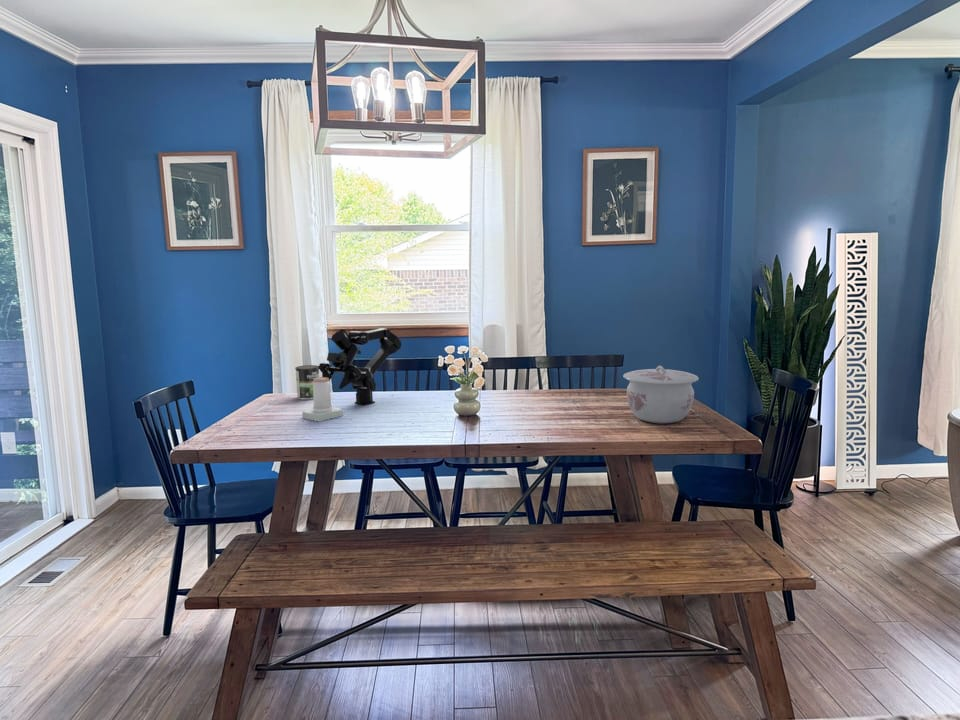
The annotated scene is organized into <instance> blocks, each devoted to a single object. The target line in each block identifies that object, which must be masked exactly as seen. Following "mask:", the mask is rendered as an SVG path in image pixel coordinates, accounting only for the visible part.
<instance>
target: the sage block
mask: <svg viewBox="0 0 960 720" xmlns="http://www.w3.org/2000/svg"><path fill="white" fill-rule="evenodd" d="M301 413H302V414H301V415H302V419H305V418H306V419H305V420H309V419H310V421H313V420H314V421H313V422H316V421H319V422H322V421H321V420H323V421H327V420H331V419H330V418H332V419H335V417H336V418H339V416H340V417H343V416H344V409H341V408H338V407H337V408H336V407H333V406H332V411H330V412H326V413H315V412H313V409H309V410H304V411H302V412H301ZM326 419H327V420H326Z"/></svg>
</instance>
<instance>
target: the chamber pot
mask: <svg viewBox="0 0 960 720" xmlns="http://www.w3.org/2000/svg"><path fill="white" fill-rule="evenodd" d="M622 376H623V378H624V379H625V380H627V381H629V383H628V385H627V387H626V397H627V403H628V406H629V408H630V410H631V412H632V413H633V415H634V416H635V417H636V418H637V419H639V420H642V421H643V422H646V423H651V424H660V425H664V424H665V425H666V424H667V425H668V424H673V423H677V422H680V421H682V420H683V419H684V418H685V417H686V416H687V415H688V414H689V412H690V410H691V409H692V407H693V403H694V399H695V389H694V388H693V386H692V384H693V383H696V382H697V381H699V377H698V375H696V374H693V373H690V372H687V371H683V370H675V369H668V368H667V369H665V368H664V367H663V366H662V365H658V366H657V367H656V368H647V369H646V368H645V369H637V370H632V371H628V372H625V373H624V374H623V375H622Z"/></svg>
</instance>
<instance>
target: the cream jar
mask: <svg viewBox="0 0 960 720" xmlns="http://www.w3.org/2000/svg"><path fill="white" fill-rule="evenodd" d="M331 397H332V396H331V379H330V380H329V378H328V377H322V376H319V377H317V378H314V379H313V398H314V399H313V407H312V410H313V412H315V413H326V412H330V411H332V407H333V406H332V400H331Z"/></svg>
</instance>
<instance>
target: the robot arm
mask: <svg viewBox="0 0 960 720" xmlns="http://www.w3.org/2000/svg"><path fill="white" fill-rule="evenodd" d="M374 340H378V343H380V348H379V350H378V351H377V352H376V353H375V354H374V355H373V357H372V358H371V359H370V360H369V361H368V362H367V363H366V364H365V366H364V367H361V366H360V367H359V366H357V365H354V364H355V362H354V359H355V358H356V356H357V355H361V354H362V352H361V349H360V347H358V346H364V345H366V344H368V343H369V342H370V341H374ZM331 341H332V342H333V343H334V345H335V346H337V348H338V349H339V350H340V352H339V353H336V352H328V353H327V357H326V361H327V362H326V363H325V362H321V363H319V365H318V366H319V367H318V368H319V372H321V377H328V378H329V380H330V381H331V379H332V378H333V375H334V374H335V373H338V374H339V373H340V374H344V376H343V378H342V379H341V382H340V384H339V387H338V389H339V390H342V389H344V388H345V387H347V386H348V385H350V384H351V386H352V389H353V390H355V391H356V392H355V401H354V404H358V405H361V406H365V405H370V404H375V403H376V401H374V399H373V397H374V396H373V391H374V390H376V387H377V384H376V382H375V381H374V375H375V373H376V372H377V371H378V369H379V368H381V366H382V365H383V363H384V362H385V361H386V360H387V359H388V358H389V356H391V355H393V354H396V353H397V352H398V351H399V350H401V347H402V342H401V339H400V338H399V337H398V335H396V334H395V333H393V332H391V330H390V329H388V328H387V327H385V328H384V327H379V328H377V329H371V330H366V331H357V330H355V331H353V330H351V331H348V333H347V331H346V330H345V329H343V328H340V329H339V331H336V332H335V333H334V334H332V336H331ZM328 362H331V365H330V364H329V363H328Z"/></svg>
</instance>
